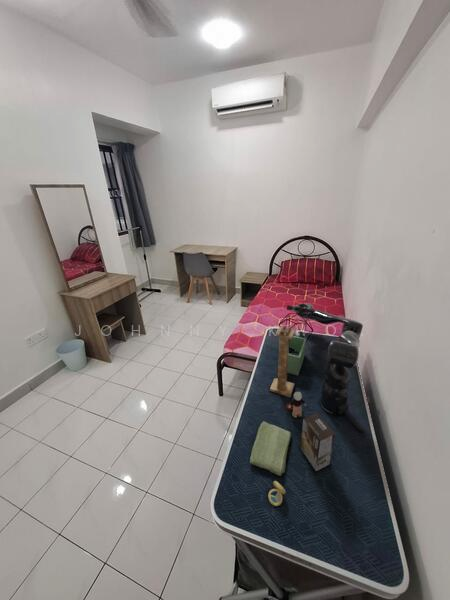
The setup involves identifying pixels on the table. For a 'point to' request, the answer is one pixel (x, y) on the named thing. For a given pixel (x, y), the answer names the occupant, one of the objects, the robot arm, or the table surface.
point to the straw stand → (283, 363)
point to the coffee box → (317, 441)
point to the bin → (296, 355)
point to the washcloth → (270, 448)
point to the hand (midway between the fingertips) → (298, 309)
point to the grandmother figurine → (297, 404)
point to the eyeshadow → (276, 494)
